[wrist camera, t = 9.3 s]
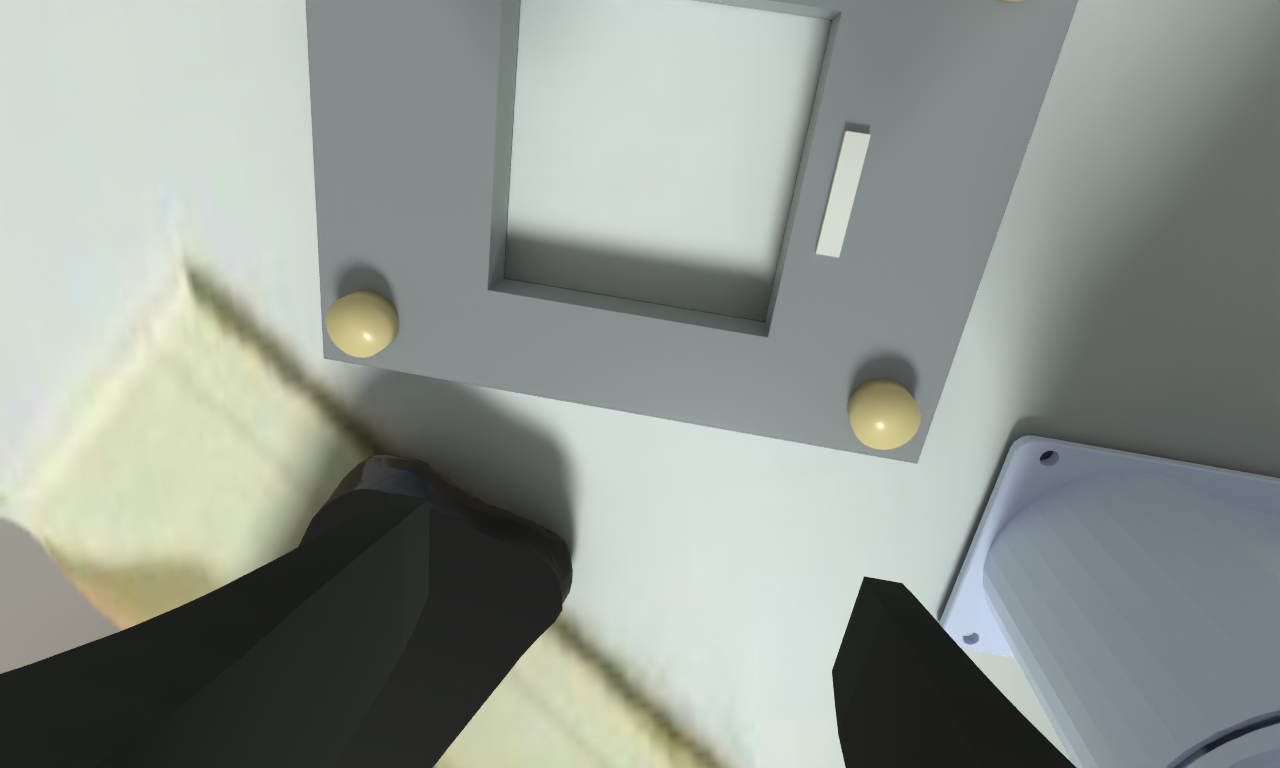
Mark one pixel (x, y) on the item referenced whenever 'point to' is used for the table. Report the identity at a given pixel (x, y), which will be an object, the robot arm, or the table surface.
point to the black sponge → (451, 610)
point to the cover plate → (657, 334)
